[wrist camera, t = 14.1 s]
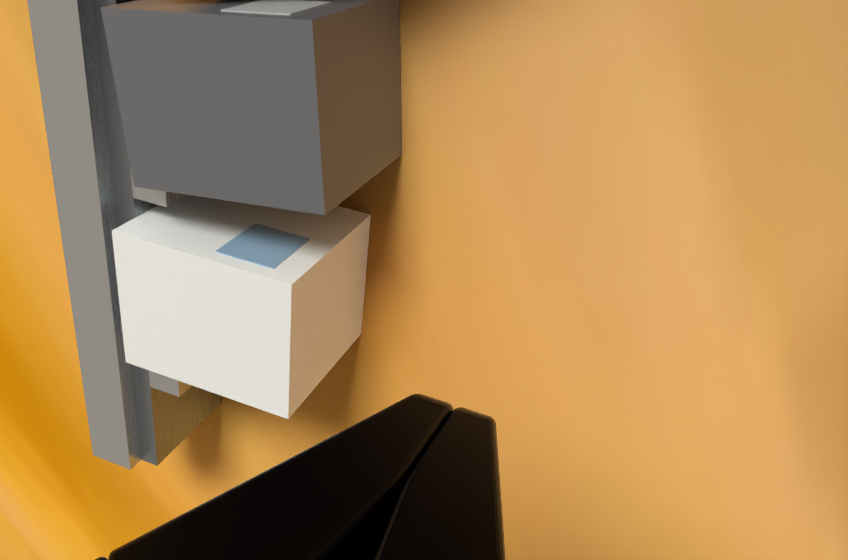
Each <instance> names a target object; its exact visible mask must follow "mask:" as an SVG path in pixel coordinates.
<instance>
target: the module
mask: <svg viewBox="0 0 848 560" xmlns="http://www.w3.org/2000/svg"><path fill="white" fill-rule="evenodd" d="M370 218H371V215H370V214H367V213H363V212H359V211H355V210H352V209H348V208H344V207H340V206H336V207H335V208H334V209H332V210H331V211H330V212H329V213H327V214H326V215H319V214H313V213H306V212H299V211H293V210H286V209H279V208H273V207H266V206H259V205H253V204H246V203H239V202H233V201H226V200H219V199H213V198H206V197H199V196H193V195H188V196H186V197H184V198H183V199H181V200H179V201H177V202H175V203H174V204H172V205H170V206H168V207H164V206H160V205H157V206H156V207H154V208H152V209H150V210H148V211H147V212H145V213H143V214H141V215H139V216H137V217H136V218H134V219H132V220H130V221H128V222H126V223H125V224H123V225H121V226H119V227H117V228H116V229H114V230H112V239H113V249H114V258H115V267H116V277H117V286H118V295H119V305H120V314H121V323H122V332H123V342H124V351H125V360H126V362H127V363H130V364H132V365H135V366H138V367H141V368H144V369H147V370H150V371H152V372H155V373H158V374H161V375H164V376H167V377H169V378H172V379H175V380H178V381H181V382H184V383H187V384H189V385H192V386H195V387H198V388H201V389H204V390H206V391H209V392H212V393H215V394H218V395H221V396H223V397H226V398H229V399H232V400H235V401H238V402H241V403H243V404H246V405H249V406H252V407H255V408H258V409H260V410H263V411H266V412H269V413H272V414H275V415H278V416H280V417H283V418H286V419H289V418H290V417H291V415H292V414H293V413H294V412H295V411H296V410H297V408H298V407H299V406H300V405H301V404H302V403H303V401H304V400H305V399H306V398H307V397H308V396H309V394H310V393H311V392H312V391H313V390H314V388H315V387H316V386H317V385H318V384H319V383H320V381H321V380H322V379H323V378H324V377H325V376H326V374H327V373H328V372H329V371H330V370H331V369H332V367H333V366H334V365H335V364H336V363H337V362H338V360H339V359H340V358H341V357H342V356H343V355H344V353H345V352H346V351H347V350H348V349H349V347H350V346H351V345H352V344H353V343H354V342H355V340H356V339H357V338H358V337H359V336H360V335H361V329H362V317H363V305H364V292H365V280H366V267H367V255H368V243H369V230H370Z"/></svg>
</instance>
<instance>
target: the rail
mask: <svg viewBox="0 0 848 560" xmlns="http://www.w3.org/2000/svg"><path fill="white" fill-rule="evenodd" d="M27 1H28V8H29V15H30V22H31V29H32V36H33V43H34V49H35V56H36V63H37V70H38V77H39V84H40V91H41V98H42V105H43V112H44V118H45V125H46V132H47V139H48V146H49V153H50V160H51V167H52V174H53V181H54V188H55V194H56V201H57V208H58V215H59V222H60V229H61V236H62V243H63V250H64V257H65V263H66V270H67V277H68V284H69V291H70V298H71V305H72V312H73V319H74V326H75V332H76V339H77V346H78V353H79V360H80V367H81V374H82V381H83V388H84V395H85V401H86V408H87V415H88V422H89V429H90V436H91V443H92V450H93V455H94V456H97V457H100V458H102V459H105V460H107V461H110V462H112V463H115V464H117V465H120V466H122V467H125V468H128V469H130V470H131V469H132V468H133V467H134V466H135V465H136V464H137V463H138V462H139V461H140V460H144V461H147V462H149V463H152V464H154V465H157V466H158V465H159V464H160V463H161V462H162V461H163V460H164V459H165V458H166V457H167V456H168V455H169V454H170V453H171V452H172V451H173V450H174V449H175V448H176V447H177V446H178V445H179V444H180V443H181V442H182V441H183V440H184V439H185V438H186V437H187V436H188V435H189V434H190V433H191V432H192V431H193V430H194V429H195V428H196V427H197V426H198V425H199V424H200V423H201V422H202V421H203V420H204V419H205V418H206V417H207V416H208V415H209V414H210V413H211V412H212V411H213V410H214V409H215V408H216V407H217V406H218V405H219V404H220V403H221V402H222V397H221V395H218V394H215V393H212V392H209V391H206V390H204V389H201V388H198V387H195V386H192V385H189V384H187V383H184V382H181V381H178V380H175V379H172V378H169V377H167V376H164V375H161V374H158V373H155V372H152V371H150V370H147V369H144V368H141V367H138V366H135V365H132V364H130V363H127V362H126V360H125V351H124V342H123V332H122V323H121V314H120V305H119V295H118V286H117V277H116V267H115V258H114V249H113V239H112V230H114V229H116V228H117V227H119V226H121V225H123V224H125V223H126V222H128V221H130V220H132V219H134V218H136V217H137V216H139V215H141V214H143V213H145V212H147V211H148V210H150V209H152V208H154V207H156V206H157V205H160V206H164V207H168V206H170V205H172V204H174V203H175V202H177V201H179V200H181V199H183V198H184V197H186V196H188V195H186V194H179V193H173V192H166V191H159V190H153V189H146V188H139V187H134V183H133V178H132V173H131V167H130V162H129V157H128V151H127V146H126V141H125V135H124V130H123V125H122V119H121V114H120V109H119V103H118V98H117V93H116V87H115V82H114V77H113V71H112V66H111V61H110V56H109V50H108V45H107V40H106V34H105V29H104V24H103V18H102V13H101V8H100V7H105V6H110V5H115V4H120V3H126V2H131V1H136V0H27Z"/></svg>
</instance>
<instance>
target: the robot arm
mask: <svg viewBox="0 0 848 560" xmlns="http://www.w3.org/2000/svg"><path fill="white" fill-rule="evenodd" d="M95 560H107V558H105V557H99V558H97V559H95ZM108 560H505V546H504V532H503V518H502V504H501V490H500V476H499V462H498V447H497V433H496V423H495V421H494V419H493V418H492V417H490V416H487V415H484V414H481V413H478V412H475V411H472V410H469V409H465V408H461V407H460V408H456V409H455V410H454V409H453V407H452V406H451V404H449V403H447V402H444V401H441V400H438V399H435V398H432V397H428V396H425V395H422V394H414V395H411V396H409V397H407V398H405V399H403V400H401V401H399V402H397V403H395V404H393V405H391V406H389V407H388V408H386V409H384V410H382V411H380V412H378V413H376V414H374V415H372V416H370V417H368V418H366V419H365V420H363V421H361V422H359V423H357V424H355V425H353V426H351V427H349V428H347V429H345V430H343V431H342V432H340V433H338V434H336V435H334V436H332V437H330V438H328V439H326V440H324V441H322V442H320V443H318V444H317V445H315V446H313V447H311V448H309V449H307V450H305V451H303V452H301V453H299V454H297V455H295V456H294V457H292V458H290V459H288V460H286V461H284V462H282V463H280V464H278V465H276V466H274V467H272V468H271V469H269V470H267V471H265V472H263V473H261V474H259V475H257V476H255V477H253V478H251V479H249V480H247V481H246V482H244V483H242V484H240V485H238V486H236V487H234V488H232V489H230V490H228V491H226V492H224V493H223V494H221V495H219V496H217V497H215V498H213V499H211V500H209V501H207V502H205V503H203V504H201V505H200V506H198V507H196V508H194V509H192V510H190V511H188V512H186V513H184V514H182V515H180V516H178V517H177V518H175V519H173V520H171V521H169V522H167V523H165V524H163V525H161V526H159V527H157V528H155V529H153V530H152V531H150V532H148V533H146V534H144V535H142V536H140V537H138V538H136V539H134V540H132V541H130V542H129V543H127V544H125V545H123V546H121V547H119V548H117V549H115V550H113V551H112V552H111V553H110V555H109V558H108Z"/></svg>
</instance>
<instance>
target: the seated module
mask: <svg viewBox="0 0 848 560" xmlns="http://www.w3.org/2000/svg"><path fill="white" fill-rule="evenodd" d="M100 8H101V13H102V18H103V24H104V29H105V34H106V40H107V45H108V50H109V56H110V61H111V66H112V71H113V77H114V82H115V87H116V93H117V98H118V103H119V109H120V114H121V119H122V125H123V130H124V135H125V141H126V146H127V151H128V157H129V162H130V167H131V173H132V178H133V183H134V187H139V188H146V189H153V190H159V191H166V192H173V193H179V194H186V195H193V196H199V197H206V198H213V199H219V200H226V201H233V202H239V203H246V204H253V205H259V206H266V207H273V208H279V209H286V210H293V211H299V212H306V213H313V214H319V215H326V214H327V213H329V212H330V211H331V210H332V209H334V208H335V207H336V206H338V205H339V204H340V203H341V202H343V201H344V200H345V199H346V198H348V197H349V196H350V195H351V194H353V193H354V192H355V191H356V190H358V189H359V188H360V187H362V186H363V185H364V184H365V183H367V182H368V181H369V180H370V179H372V178H373V177H374V176H375V175H377V174H378V173H379V172H381V171H382V170H383V169H384V168H386V167H387V166H388V165H389V164H391V163H392V162H393V161H394V160H396V159H397V158H398V157H400V156H401V155H402V119H401V55H400V0H136V1H131V2H126V3H120V4H115V5H110V6H105V7H100Z"/></svg>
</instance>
